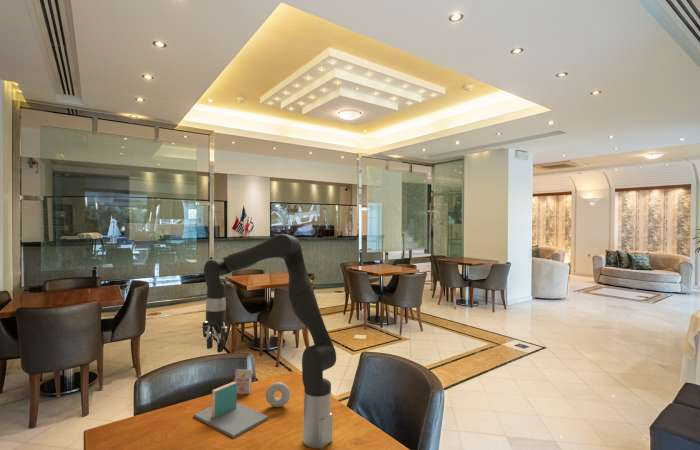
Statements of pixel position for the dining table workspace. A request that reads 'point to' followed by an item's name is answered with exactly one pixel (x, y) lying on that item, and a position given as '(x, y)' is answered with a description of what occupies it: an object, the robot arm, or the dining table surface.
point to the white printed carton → (243, 381)
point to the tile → (224, 399)
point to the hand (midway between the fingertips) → (214, 350)
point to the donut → (272, 399)
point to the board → (232, 420)
